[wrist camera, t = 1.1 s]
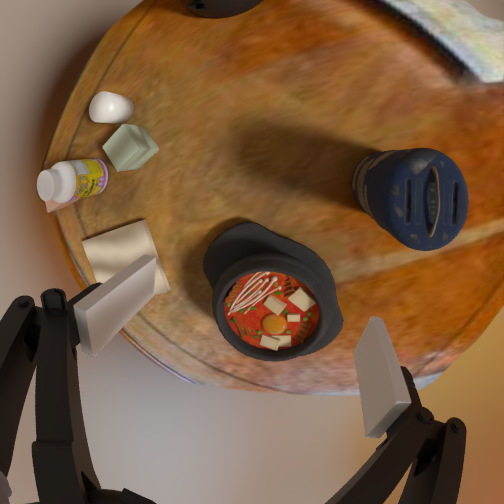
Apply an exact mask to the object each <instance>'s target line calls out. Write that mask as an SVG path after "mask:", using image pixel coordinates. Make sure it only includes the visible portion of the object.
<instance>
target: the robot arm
mask: <svg viewBox="0 0 504 504" xmlns="http://www.w3.org/2000/svg"><path fill="white" fill-rule="evenodd" d="M262 1H263V0H181V2H182V3H183V4H184V6H185V7H186V8H187V9H188V10H189V11H191V12H192V13H194V14H196V15H198V16H201V17H206V18H225V17H231V16H235V15H238V14H241V13H244V12H246V11H248V10H250V9H252V8H254V7H255V6H257V5H258V4H260V3H261V2H262ZM155 267H156V257H154V256H151V255H148V254H145V255H143V256H142V257H140V258H139V259H137V260H136V261H134V262H133V263H131V264H130V265H129V266H127V267H126V268H124V269H123V270H121V271H120V272H118V273H117V274H116V275H114V276H113V277H111V278H110V279H109V280H107V281H106V282H104V283H101V282H98V283H95V284H92V285H90V286H89V287H87V288H86V289H85V290H83V291H82V292H80V294H78V295H76V296H75V297H74V298H72V299H71V300H69V301H68V302H67V300H66V294H65V292H64V291H63V290H61V289H56V288H53V289H48V290H46V291H44V292H43V293H42V294H41V296H40V297H41V302H42V306H43V308H41V307H37V306H35V303H34V300H33V298H32V297H30V296H20V297H18V298H16V299H15V300H14V301H13V302H12V304H11V305H10V307H9V308H8V310H7V311H6V313H5V314H4V316H3V318H2V319H1V321H0V504H10V503H9V499H8V497H10V496H11V493H12V491H11V488H10V487H9V483H8V480H7V478H6V477H7V475H8V472H9V469H10V465H11V461H12V456H13V450H14V444H15V439H16V434H17V430H18V426H19V421H20V417H21V413H22V410H23V406H24V402H25V399H26V395H27V392H28V389H29V386H30V382H31V380H32V376H33V373H34V371H35V368H36V365H37V368H36V390H35V392H36V393H35V415H36V435H37V439H36V441H34V442H33V443H32V458H33V467H34V474H35V480H36V485H37V491H38V496H39V501H40V502H35V503H28V504H156V503H155V502H153V501H152V500H150V499H147V498H145V497H142V496H140V495H138V494H136V493H134V492H132V491H130V490H128V489H125V488H124V489H123V490H122V492H121V491H116V490H108V489H101V486H100V483H99V481H98V478H97V476H96V474H95V471H94V469H93V465H92V461H91V457H90V452H89V448H88V443H87V438H86V433H85V427H84V421H83V415H82V407H81V400H80V391H79V380H78V367H77V350H76V345H78V344H79V343H80V344H81V348H82V351H83V352H85V353H87V354H88V355H90V356H92V357H95V355H96V354H97V353H98V352H99V351H100V350H101V349H102V348H103V347H104V346H105V345H106V344H107V343H108V342H109V341H110V340H111V339H112V338H113V337H114V336H115V335H116V334H117V333H118V332H119V331H120V329H121V328H122V327H123V326H124V325H125V324H126V323H127V322H128V321H129V320H130V319H131V318H132V317H133V316H134V315H135V314H136V313H137V312H138V311H139V310H140V309H141V308H142V307H143V306H144V305H145V304H146V303H147V302H148V301H149V300H150V299H151V298H152V297H153V296H154V285H155ZM353 352H354V358H355V364H356V370H357V376H358V382H359V389H360V396H361V403H362V411H363V418H364V428H365V437H368V438H380V437H381V436H382V435H383V434H384V433H385V432H386V433H387V438H386V439H385V440H384V441H383V442H382V443H381V444H380V445H379V446H378V447H377V448H376V451H375V453H374V454H373V455H372V456H371V457H370V458H369V460H368V461H367V462H366V463H365V464H364V465H363V466H362V467H361V468H360V469H359V471H358V472H357V473H356V474H355V475H354V476H353V477H352V478H351V479H350V480H349V481H348V482H347V483H346V484H345V485H344V486H343V487H342V488H341V489H340V490H339V491H338V492H337V493H336V494H335V495H334V496H333V497H332V498H331V499H329V500H328V501H327V502H326V503H325V504H383V503H384V502H385V500H386V499H387V498H388V497H389V495H390V494H391V493H392V491H393V490H394V489H395V487H396V486H397V484H398V483H399V481H400V480H401V479H402V477H403V476H404V474H405V472H406V471H407V469H408V468H409V466H410V465H411V463H412V462H413V463H412V466H411V469H410V473H409V475H408V479H407V481H406V484H405V487H404V490H403V493H402V495H401V497H400V500H399V502H398V504H456V502H457V498H458V493H459V488H460V482H461V477H462V470H463V463H464V454H465V443H466V426H465V424H464V423H463V422H462V421H461V420H460V419H458V418H455V417H453V418H450V419H449V420H448V421H447V422H446V423H442V422H439V421H436V420H434V416H433V414H432V413H431V412H430V411H429V410H428V409H427V408H425V407H422V405H421V402H420V399H419V396H418V393H417V390H416V388H415V384H414V382H413V378H412V375H411V373H410V372H409V371H408V369H407V368H406V367H403V366H400V365H399V362H398V359H397V356H396V353H395V350H394V348H393V345H392V342H391V339H390V337H389V334H388V332H387V329H386V326H385V324H384V321H383V319H382V318H379V317H375V316H371V317H370V319H369V321H368V323H367V326H366V328H365V330H364V332H363V334H362V336H361V338H360V339H359V341H358V343H357V345H356V347H355V349H354V351H353Z"/></svg>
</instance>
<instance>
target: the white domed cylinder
mask: <svg viewBox="0 0 504 504" xmlns="http://www.w3.org/2000/svg"><path fill="white" fill-rule="evenodd" d="M133 111H134V103H133V101H132V99H131V98H129V97H126V96H122V95H118V94H114V93H110V92H106V91H102V92H99V93H98V94H97V95H95V97H94V98H93V99H92V101H91V103H90V107H89V115H90V118H91V119H92V120H93V121H94V122H101V123H112V124H124V123H126V122H127V121H128V120H129V119H130V118H131V116H132V114H133Z"/></svg>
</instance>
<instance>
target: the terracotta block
mask: <svg viewBox="0 0 504 504" xmlns="http://www.w3.org/2000/svg"><path fill="white" fill-rule="evenodd" d="M77 200H79V199H76V200H72V201H69V202H65V203H58V202H56V201H54V200H49V201H45V204H46V207H47V211H48V213H49V212H52V211H55V210H58V209H61V208H64V207H66V206H68V205H70V204H72V203H74V202H75V201H77Z"/></svg>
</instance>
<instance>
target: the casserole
mask: <svg viewBox="0 0 504 504" xmlns="http://www.w3.org/2000/svg"><path fill="white" fill-rule="evenodd" d="M203 270H204V273H205V275H206V277H207V279H208V281H209V283H210V285H211V287H212V288H213V290H214V292H213V298H212V307H213V314H214V317H215V320H216V322H217V324H218V327H219V330H220V331H221V333H222V335H223V336H224V338H225V339H226V340H227V341H228V342H229V343H230V345H232V346H233V347H234V348H235V349H237V350H238V351H240V352H241V353H243V354H245V355H247V356H249V357H252V358H255V359H259V360H264V361H285V360H289V359H293V358H296V357H298V356H304V355H308V354H311V353H314V352H316V351H318V350H320V349H322V348H324V347H325V346H327V345H328V344H329V343H331V342H332V341H333V340H334V339H335V337H336V336H337V335H338V334H339V332H340V331H341V329H342V326H343V317H342V314H341V311H340V308H339V306H338V303H337V297H336V290H335V283H334V279H333V277H332V274H331V272H330V270H329V268H328V267H327V265H326V264H325V262H324V261H323V260H322V259H321V258H320V257H319V256H318V255H317V254H316V253H315V252H314V251H312V250H311V249H309V248H307V247H306V246H304V245H302V244H300V243H297V242H294V241H292V240H289V239H286V238H284V237H281V236H279V235H277V234H275V233H274V232H272V231H270V230H268V229H267V228H265V227H263V226H261V225H260V224H258V223H251V222H246V223H241V224H237V225H235V226H233V227H231V228H229V229H227V230H225V231H224V232H223V233H221V234H220V235H219V236H217V238H216V239H215V240H214V241H213V242H212V243H211V245H210V246H209V248H208V250H207V252H206V254H205V257H204V261H203Z"/></svg>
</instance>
